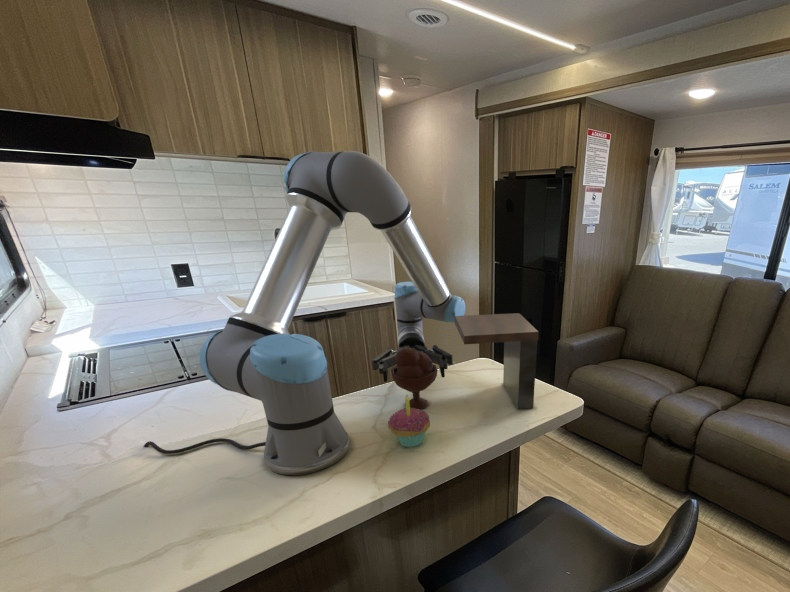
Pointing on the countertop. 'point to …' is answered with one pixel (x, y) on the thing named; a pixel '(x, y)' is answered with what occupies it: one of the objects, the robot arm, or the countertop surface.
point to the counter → (507, 349)
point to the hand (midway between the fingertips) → (414, 374)
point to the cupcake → (409, 425)
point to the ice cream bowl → (414, 374)
